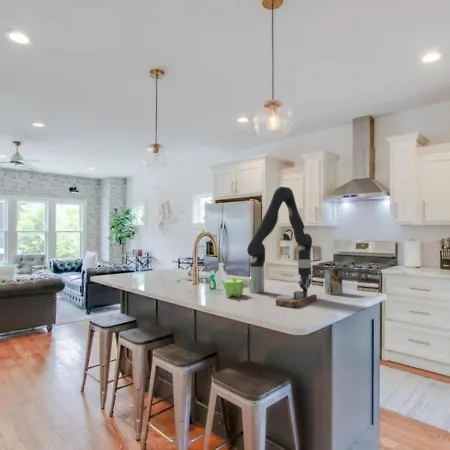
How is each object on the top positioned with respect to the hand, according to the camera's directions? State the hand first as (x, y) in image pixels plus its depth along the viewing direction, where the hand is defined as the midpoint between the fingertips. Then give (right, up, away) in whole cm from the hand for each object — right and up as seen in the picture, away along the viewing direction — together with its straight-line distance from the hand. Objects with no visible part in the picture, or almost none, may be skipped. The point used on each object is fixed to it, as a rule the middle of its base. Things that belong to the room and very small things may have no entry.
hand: (305, 295), depth 205 cm
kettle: (-43, -3, +11) cm, 44 cm away
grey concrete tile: (-12, -2, +2) cm, 12 cm away
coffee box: (+21, -2, +13) cm, 25 cm away
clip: (-4, -1, -5) cm, 6 cm away
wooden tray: (-8, -2, -12) cm, 15 cm away
